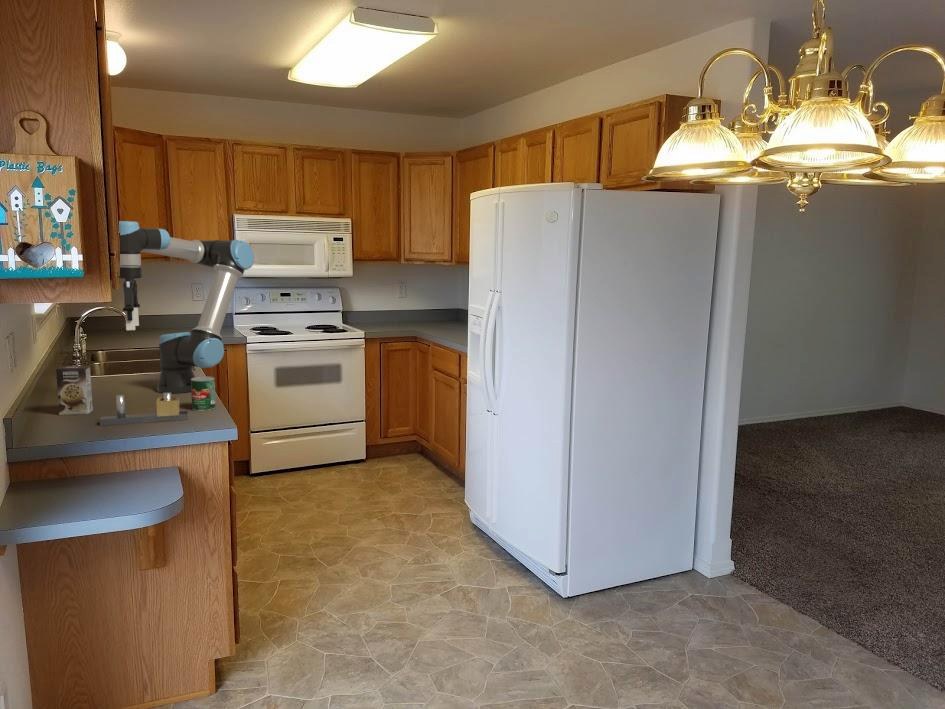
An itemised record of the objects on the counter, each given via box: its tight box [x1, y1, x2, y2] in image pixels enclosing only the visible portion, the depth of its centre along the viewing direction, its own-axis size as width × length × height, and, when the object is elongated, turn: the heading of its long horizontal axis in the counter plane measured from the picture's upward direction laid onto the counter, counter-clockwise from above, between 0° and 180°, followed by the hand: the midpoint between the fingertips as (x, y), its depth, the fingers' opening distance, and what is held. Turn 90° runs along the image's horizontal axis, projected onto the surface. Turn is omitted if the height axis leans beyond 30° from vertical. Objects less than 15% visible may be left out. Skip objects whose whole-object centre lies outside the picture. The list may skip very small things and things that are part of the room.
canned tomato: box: [191, 376, 217, 412], centre depth 240 cm, size 8×8×11 cm
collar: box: [155, 395, 181, 417], centre depth 225 cm, size 6×6×5 cm
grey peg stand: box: [99, 392, 189, 427], centre depth 222 cm, size 4×26×9 cm, turn 111°
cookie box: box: [55, 365, 94, 416], centre depth 232 cm, size 9×6×16 cm
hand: (132, 328), depth 236 cm, fingers open, 13 cm apart
